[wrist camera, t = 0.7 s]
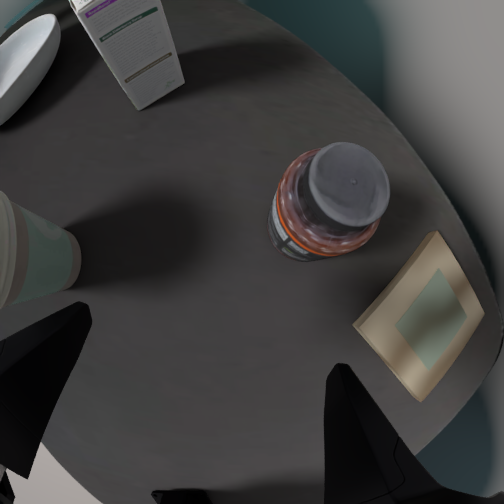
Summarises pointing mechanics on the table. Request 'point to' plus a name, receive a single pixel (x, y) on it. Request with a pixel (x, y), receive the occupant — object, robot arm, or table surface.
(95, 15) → the syrup box
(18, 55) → the serving bowl
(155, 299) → the table surface
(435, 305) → the board
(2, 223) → the coffee cup
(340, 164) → the supplement bottle
